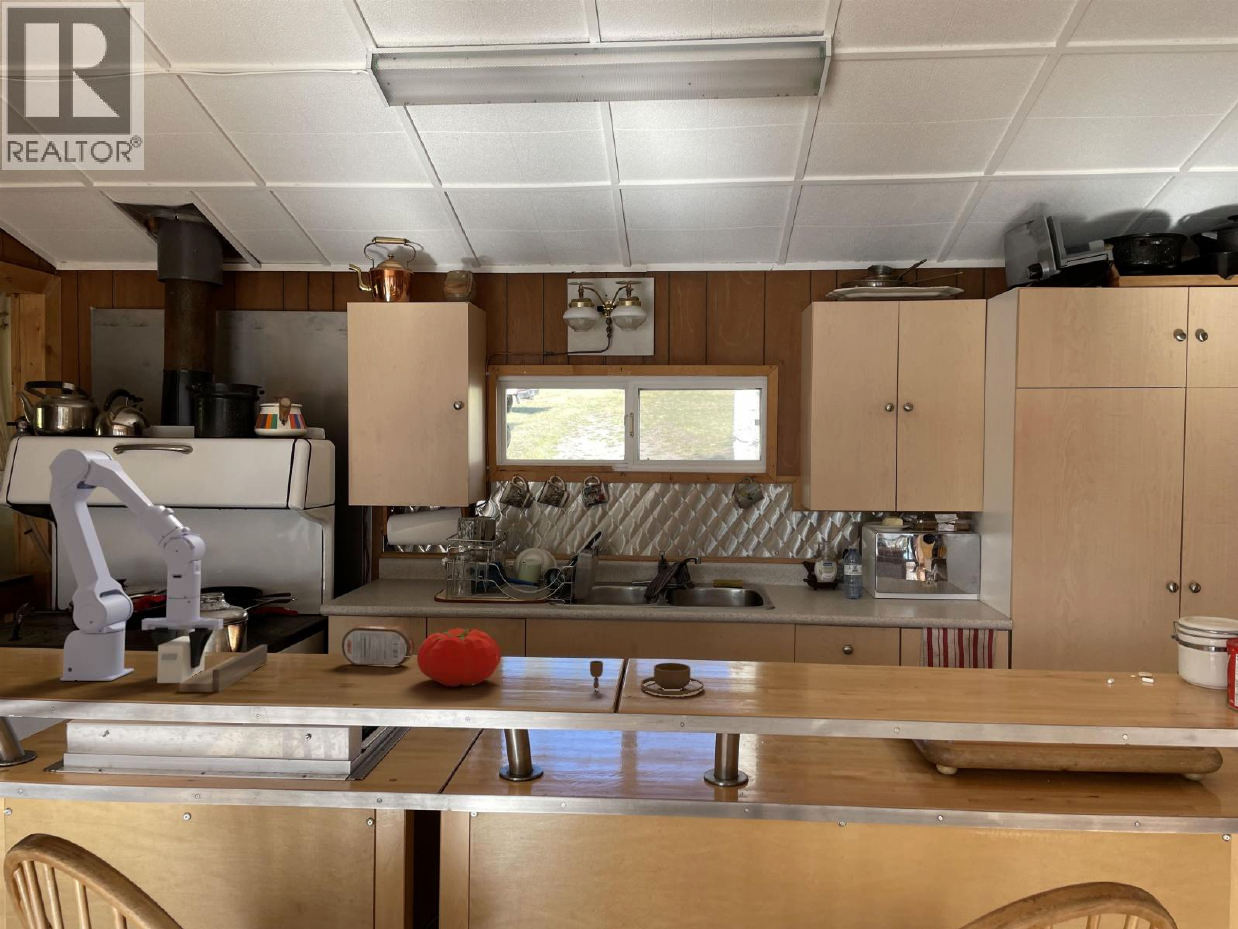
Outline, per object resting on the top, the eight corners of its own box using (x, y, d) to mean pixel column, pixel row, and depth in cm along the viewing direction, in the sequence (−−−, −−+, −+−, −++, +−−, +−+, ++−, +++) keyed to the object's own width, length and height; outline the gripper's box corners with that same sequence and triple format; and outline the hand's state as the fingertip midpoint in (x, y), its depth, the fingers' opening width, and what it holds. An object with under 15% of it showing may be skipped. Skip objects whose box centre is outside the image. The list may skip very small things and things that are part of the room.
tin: (414, 665, 167) (415, 625, 167) (409, 669, 164) (409, 628, 164) (345, 663, 169) (346, 623, 169) (339, 666, 165) (340, 625, 166)
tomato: (441, 671, 163) (442, 622, 163) (513, 678, 157) (514, 628, 157) (400, 688, 149) (401, 634, 149) (477, 697, 144) (478, 642, 144)
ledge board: (179, 691, 144) (179, 669, 144) (232, 663, 166) (232, 644, 166) (218, 692, 144) (219, 669, 144) (266, 664, 166) (267, 644, 166)
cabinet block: (155, 684, 149) (156, 646, 149) (181, 671, 159) (182, 636, 159) (179, 684, 149) (180, 646, 149) (204, 671, 159) (205, 636, 159)
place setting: (687, 708, 140) (688, 674, 141) (584, 695, 148) (585, 663, 148) (714, 685, 157) (714, 655, 157) (620, 674, 164) (620, 646, 164)
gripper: (133, 599, 150) (131, 671, 150) (212, 600, 151) (210, 671, 151) (153, 594, 157) (151, 663, 157) (228, 594, 158) (226, 663, 158)
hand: (181, 666), depth 155 cm, fingers closed on cabinet block, 4 cm apart
